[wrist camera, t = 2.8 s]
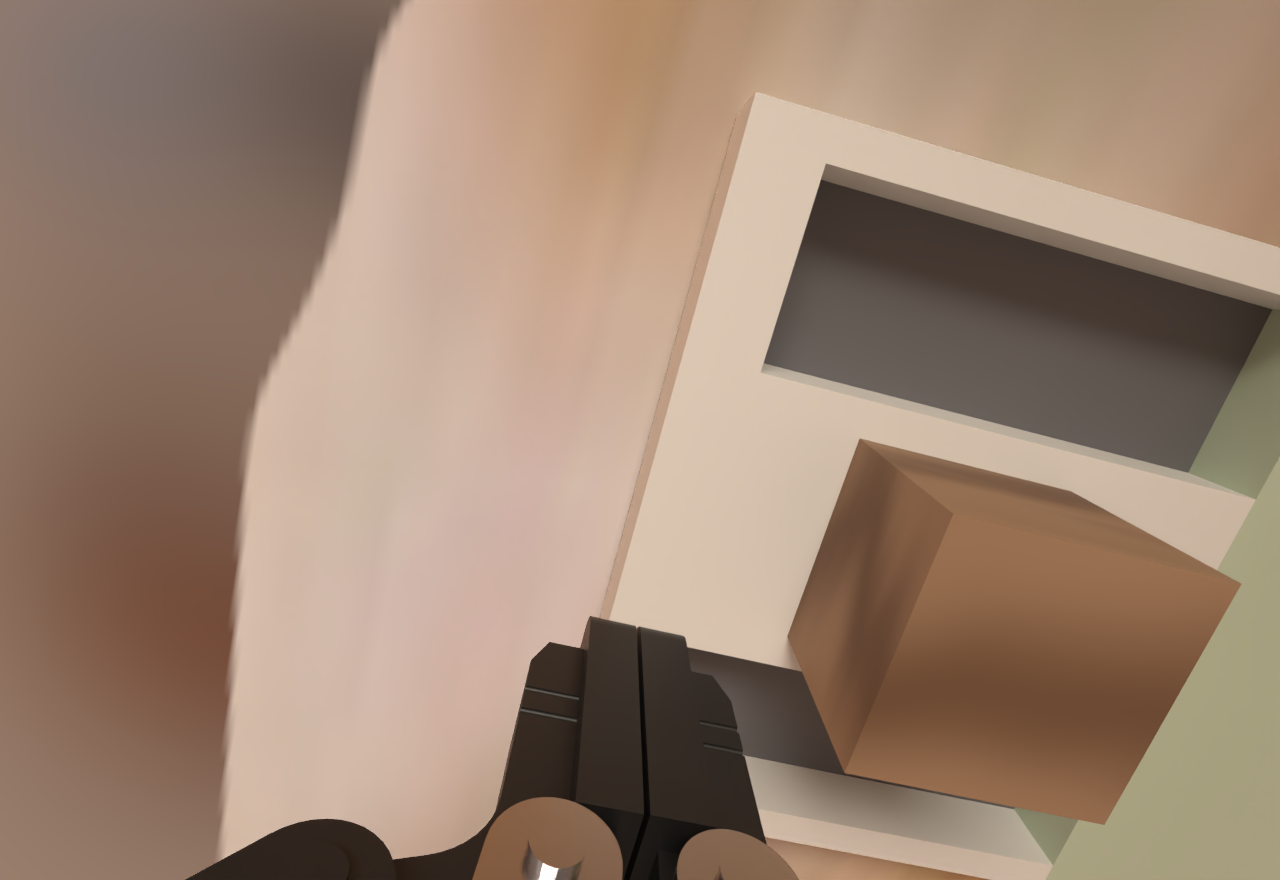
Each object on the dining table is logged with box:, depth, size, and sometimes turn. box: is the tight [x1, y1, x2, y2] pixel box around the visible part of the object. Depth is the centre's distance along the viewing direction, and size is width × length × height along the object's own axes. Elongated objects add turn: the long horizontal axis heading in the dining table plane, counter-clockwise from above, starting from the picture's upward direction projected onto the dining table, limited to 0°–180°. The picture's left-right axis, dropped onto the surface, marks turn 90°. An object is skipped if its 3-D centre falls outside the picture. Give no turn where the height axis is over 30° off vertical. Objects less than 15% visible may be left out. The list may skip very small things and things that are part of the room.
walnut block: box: [787, 438, 1241, 825], centre depth 15 cm, size 6×6×5 cm
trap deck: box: [600, 92, 1280, 880], centre depth 19 cm, size 20×30×4 cm
